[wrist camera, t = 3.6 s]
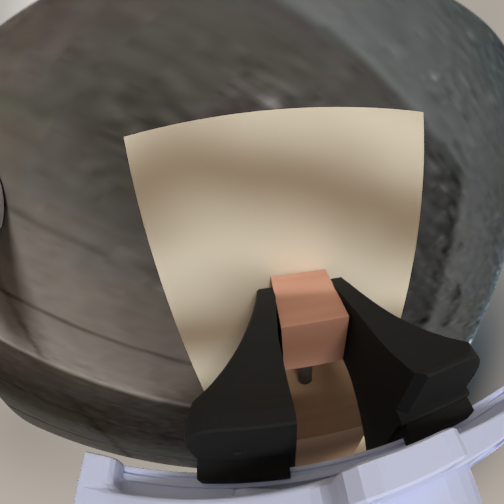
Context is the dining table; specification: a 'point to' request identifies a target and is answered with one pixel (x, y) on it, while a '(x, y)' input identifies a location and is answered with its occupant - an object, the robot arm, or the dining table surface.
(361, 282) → the shelf lane
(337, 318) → the walnut block
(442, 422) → the robot arm
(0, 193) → the supplement bottle
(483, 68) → the dining table surface
